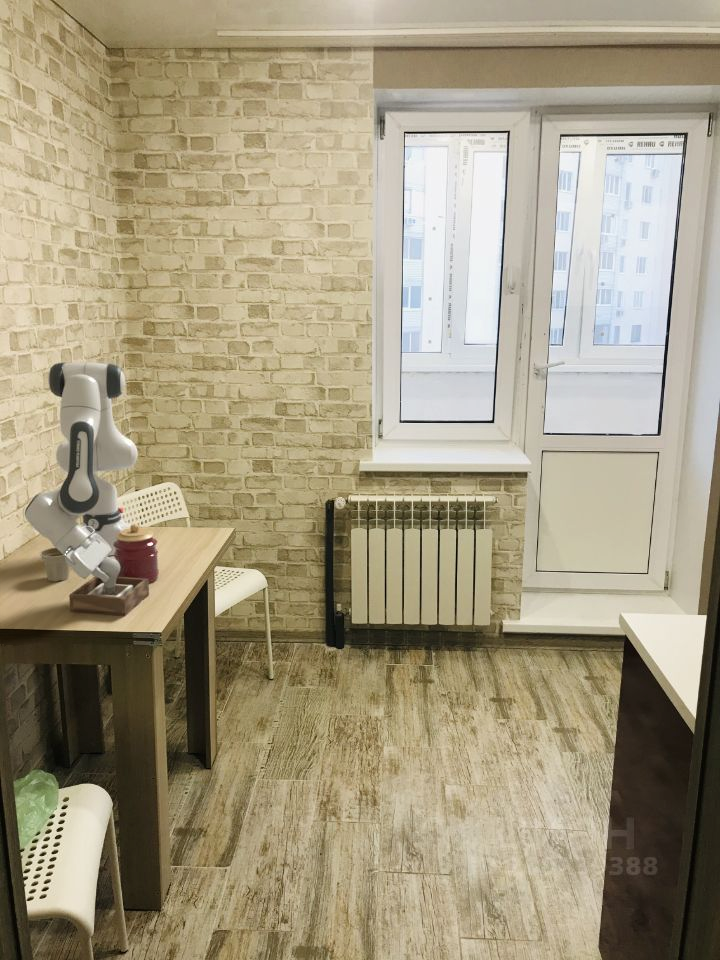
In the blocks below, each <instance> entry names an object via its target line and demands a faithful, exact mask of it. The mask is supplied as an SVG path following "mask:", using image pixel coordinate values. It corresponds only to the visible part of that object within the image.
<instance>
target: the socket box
mask: <svg viewBox="0 0 720 960" xmlns="http://www.w3.org/2000/svg"><path fill="white" fill-rule="evenodd" d="M149 584H150V583H149V582H148V579H144V578H129V577H117V579H116V585H115V593H114V594H112V595H108V594H106V592H105V587H104V583H103V581H102V580H101V579H100V578H97V577H95V576H93V577H92V578H90V579H89V580H87V582H85V583H83V584H82V585H81V586H79V587H78V588H76V589H75V590H74V591H72V592H71V593H70V594H69V595H68V596H69V597H68V598H69V612H70V613H80V614H81V613H83V614H93V615H94V614H95V615H107V616H119V617H120V616H121V617H127V615H129V613H130V612H132V611H133V610H134V609H135V608H136V607H137V606H138V605H139V604H141V603H142V602H143V601H144V600H145V599H146V598H148V596H150V588H149ZM142 600H143V601H142ZM141 601H142V602H141ZM140 602H141V603H140Z"/></svg>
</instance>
